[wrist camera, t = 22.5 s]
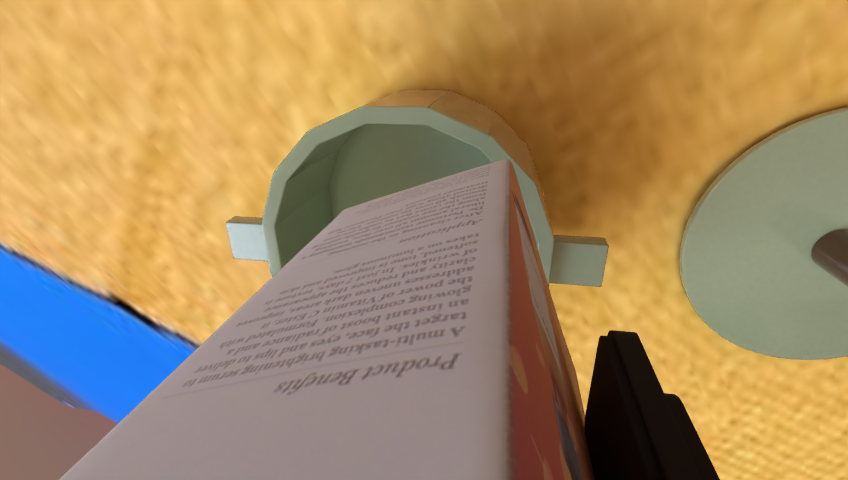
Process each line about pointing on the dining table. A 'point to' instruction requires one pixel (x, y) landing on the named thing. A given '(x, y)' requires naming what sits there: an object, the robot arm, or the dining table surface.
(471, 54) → the dining table surface
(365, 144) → the casserole
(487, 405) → the small box
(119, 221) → the dining table surface
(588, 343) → the dining table surface
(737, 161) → the pot lid
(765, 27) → the dining table surface
